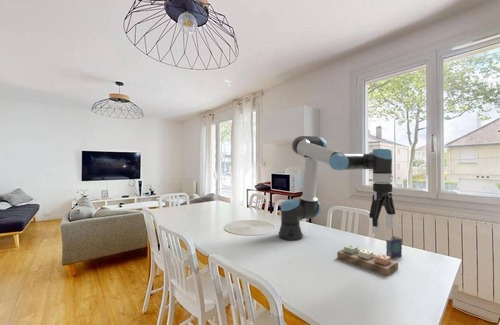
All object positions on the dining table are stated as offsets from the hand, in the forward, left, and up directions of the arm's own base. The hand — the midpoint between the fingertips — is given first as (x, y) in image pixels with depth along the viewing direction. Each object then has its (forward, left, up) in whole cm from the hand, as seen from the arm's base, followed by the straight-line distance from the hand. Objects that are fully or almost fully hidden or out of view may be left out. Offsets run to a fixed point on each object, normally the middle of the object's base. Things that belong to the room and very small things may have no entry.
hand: (382, 230), depth 102 cm
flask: (-3, +19, -17) cm, 25 cm away
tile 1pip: (-15, 0, -14) cm, 20 cm away
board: (-8, 0, -17) cm, 18 cm away
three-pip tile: (0, 0, -14) cm, 14 cm away
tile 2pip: (-8, 0, -14) cm, 16 cm away
